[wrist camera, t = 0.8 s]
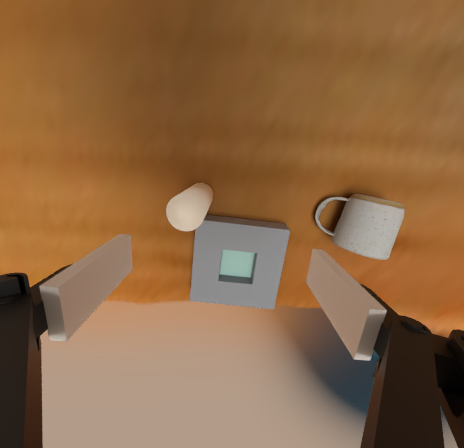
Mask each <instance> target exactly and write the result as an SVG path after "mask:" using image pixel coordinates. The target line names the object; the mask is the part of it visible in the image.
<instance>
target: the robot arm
mask: <svg viewBox="0 0 464 448" xmlns="http://www.w3.org/2000/svg"><path fill="white" fill-rule="evenodd" d="M131 271H132V251H131V235H128V234H119V235H117V236H116V237H114V238H113V239H111V240H110V241H108V242H106V243H105V244H103V245H102V246H100V247H99V248H97V249H96V250H94V251H93V252H91V253H89V254H88V255H86V256H85V257H83V258H82V259H80V260H79V261H77V262H76V263H74V264H71V265H68V266H65V267H63V268H61V269H59V270H58V271H56V272H54V274H51V275H50V276H48V277H47V278H45V279H43V280H42V281H40V282H38V283H37V284H35V285H34V286H32V287H30V286H29V281H28V276H27V275H26V274H24V273H9V274H4V275H0V448H43V447H42V446H43V445H42V374H41V340H40V335H41V334H42V333H44V332H45V331H46V330H48V335H49V340H58V341H68V339H69V338H70V337H71V336H72V335H73V334H74V333H75V332H76V331H77V330H78V328H79V327H80V326H81V325H82V324H83V323H84V322H85V321H86V320H87V319H88V318H89V316H90V315H91V314H92V313H93V312H94V311H95V310H96V309H97V308H98V307H99V306H100V304H101V303H102V302H103V301H104V300H105V299H106V298H107V297H108V296H109V295H110V294H111V292H112V291H113V290H114V289H115V288H116V287H117V286H118V285H119V284H120V283H121V282H122V280H123V279H124V278H125V277H126V276H127V275H128V274H129V273H130V272H131ZM306 283H307V285H308V286H309V288H310V289H311V291H312V293H313V294H314V296H315V297H316V299H317V301H318V302H319V304H320V305H321V307H322V309H323V310H324V311H325V313H326V315H327V317H328V318H329V320H330V321H331V323H332V325H333V326H334V328H335V329H336V331H337V332H338V334H339V336H340V338H341V339H342V341H343V342H344V344H345V345H346V347H347V349H348V350H349V352H350V353H351V355H352V357H353V358H354V359H358V360H370V359H371V356H372V353H373V350H375V352H376V353H377V354H378V356H379V360H378V363H377V366H376V369H375V372H374V375H373V377H375V378H374V383H373V388H372V392H371V398H370V402H369V407H368V412H367V417H366V422H365V427H364V432H363V437H362V442H361V448H444V439H443V430H442V421H441V412H440V406H441V408H442V410H443V412H444V415H445V417H446V420H447V422H448V424H449V427H450V429H451V431H452V434H453V436H454V438H455V441H456V443H457V446H458V448H464V331H462V330H453V331H451V333H450V336H449V338H446V337H442V336H438V335H435V334H432V333H431V331H430V330H429V329H428V328H427V327H426V326H425V325H423V324H422V323H420V322H419V321H416V320H414V319H412V318H409V317H406V316H400V315H398V314H397V313H396V312H395V311H394V310H393V309H392V308H390V307H389V306H388V305H387V304H386V303H385V302H384V301H382V299H381V298H379V297H377V295H376V294H375V293H374V292H373V291H372V290H371V289H369V288H367V287H366V286H364V285H362V284H359V283H358V282H357V281H356V280H355V279H354V278H353V277H351V276H350V275H349V274H348V273H347V272H346V271H345V270H344V269H343V268H342V267H341V266H340V265H339V264H338V263H337V262H336V261H335V260H334V259H333V258H332V257H330V256H329V255H328V254H327V253H326V252H325V251H324V250H322V249H313V251H312V256H311V260H310V265H309V270H308V275H307V280H306Z"/></svg>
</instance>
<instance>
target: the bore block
mask: <svg viewBox="0 0 464 448" xmlns="http://www.w3.org/2000/svg"><path fill="white" fill-rule="evenodd" d="M289 233H290V229H289V228H288V227H287V226H286V225H285V224H284V223H275V222H266V221H258V220H249V219H240V218H232V217H223V216H214V215H206V216H205V218H204V220H203V222H202V224H201V225H200V226H199V227H198V228H196V229H195V241H194V254H193V267H192V281H191V294H190V301H195V302H205V303H215V304H225V305H235V306H246V307H255V308H265V309H274V306H275V301H276V296H277V292H278V287H279V282H280V277H281V272H282V267H283V263H284V258H285V253H286V248H287V243H288V238H289Z"/></svg>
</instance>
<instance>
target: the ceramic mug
mask: <svg viewBox="0 0 464 448" xmlns="http://www.w3.org/2000/svg"><path fill="white" fill-rule="evenodd" d="M332 200H343V201H346V204H345V206H344V209H343V212H342V215H341V217H340V219H339V221H338V224H337V226H336V228H335V231H334V232H331V231H329V230H327V229H325V228H324V227H323V226H322V225H321V224H320V221H319V219H318V218H319V215H320V213H321V211H322V209H323V208H324V207H325V206H326V204H327V203H328V202H329V201H332ZM404 211H405V207H404V205H403V204H402V203H399V202H395V201H391V200H386V199H381V198H377V197H372V196H367V195H363V194H357V193H356V194H353V195H351V196H350V197H349V198H344V197H330V198H327V199H325V200H324V201H323V202H321V203H320V204H319V206H318V208H317V210H316V213H315V220H316V223H317V225H318V226H319V228H320V229H321V230H323V231H324V232H325V233H327V234H329V235H331V236H332V239H331V240H332V242H333V243H334V244H336V245H338V246H339V247H341V248H344V249H346V250H348V251H351V252H354V253H357V254H359V255H363V256H366V257H370V258H374V259H380V260H386V259H388V258H389V256H390V253H391V250H392V247H393V244H394V242H395V239H396V236H397V233H398V231H399V228H400V226H401V223H402V220H403V217H404Z"/></svg>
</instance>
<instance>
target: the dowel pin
mask: <svg viewBox="0 0 464 448" xmlns="http://www.w3.org/2000/svg"><path fill="white" fill-rule="evenodd" d="M213 197H214V194H213V191H212V189H211V187H210V186H209V185H207V184H205V183H196V184H194V185H192V186H191V187H189V188H188V189H186V190H184V191H183V192H181V193H180V194H178V195H176V196H175V197H173V198H172V199H171V200H170V201H169V203H168V205H167V208H166V215H167V219H168V221H169V222H170V224H171V225H172V226H173V227H175V228H176V229H178V230H181V231H192V230H195V229H196V228H198V227H199V226H200V225H201V224H202V222H203V220H204V218H205V216H206V214H207V211H208V209H209V207H210V205H211V203H212V201H213Z"/></svg>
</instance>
